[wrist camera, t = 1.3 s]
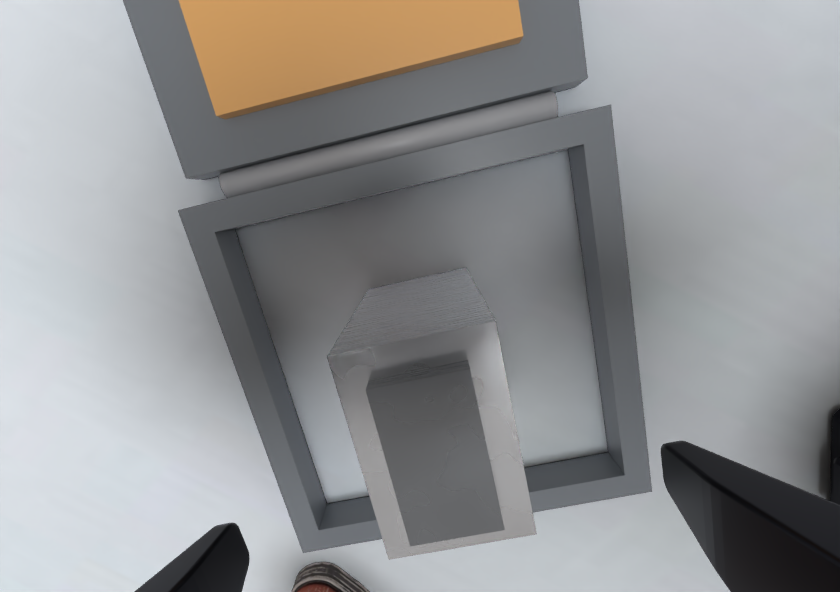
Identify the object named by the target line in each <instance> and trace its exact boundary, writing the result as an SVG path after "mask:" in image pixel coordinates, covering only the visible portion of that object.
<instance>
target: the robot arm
mask: <svg viewBox="0 0 840 592" xmlns="http://www.w3.org/2000/svg"><path fill="white" fill-rule="evenodd" d="M661 458H662V468H663V478H664V483H665V486H666V488H667V490H668V492H669V494H670V496H671V497H672V499H673V501H674V502H675V504H676V506H677V507H678V509H679V511H680V512H681V514H682V516H683V517H684V519H685V521H686V522H687V524H688V526H689V527H690V529H691V531H692V532H693V534H694V536H695V537H696V539H697V541H698V542H699V544H700V546H701V547H702V549H703V551H704V552H705V554H706V556H707V557H708V559H709V560H710V562H711V564H712V565H713V567H714V568H715V570H716V571H717V573H718V574H719V576H720V577H721V579H722V580H723V581H724V583H725V584H726V586H727V587H728V588H729V590H730V591H731V592H840V409H839V410H837V411H836V412H835V413H834V415H833V417H832V442H831V497H830V501H828V500H826V499H823V498H821V497H819V496H816V495H814V494H811V493H809V492H806V491H804V490H802V489H799V488H797V487H794V486H792V485H790V484H787V483H785V482H782V481H780V480H778V479H775V478H773V477H770V476H768V475H766V474H763V473H761V472H758V471H756V470H753V469H751V468H749V467H746V466H744V465H741V464H739V463H737V462H734V461H732V460H729V459H727V458H725V457H722V456H720V455H717V454H715V453H713V452H710V451H708V450H705V449H703V448H700V447H698V446H696V445H693V444H691V443H688V442H686V441H676V442H671V443H665V444H663V445H662V447H661ZM248 566H249V552H248V549H247V546H246V544H245V541H244V539H243V536H242V534H241V532H240V529H239V527H238V525H237V524H235V523H227V524H222V525H217V526H215V527H213V528H212V529H211V530H210V531H208V532H207V533H206V534H205V535H203V536H202V537H201V538H200V539H199V540H197V541H196V542H195V543H194V544H192V545H191V546H190V547H189V548H188V549H186V550H185V551H184V552H183V553H181V554H180V555H179V556H178V557H176V558H175V559H174V560H173V561H172V562H170V563H169V564H168V565H167V566H165V567H164V568H163V569H162V570H161V571H159V572H158V573H157V574H156V575H154V576H153V577H152V578H151V579H149V580H148V581H147V582H146V583H145V584H143V585H142V586H141V587H140V588H138V589H137V590H136V591H135V592H242V589H243V585H244V581H245V577H246V574H247V570H248Z"/></svg>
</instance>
